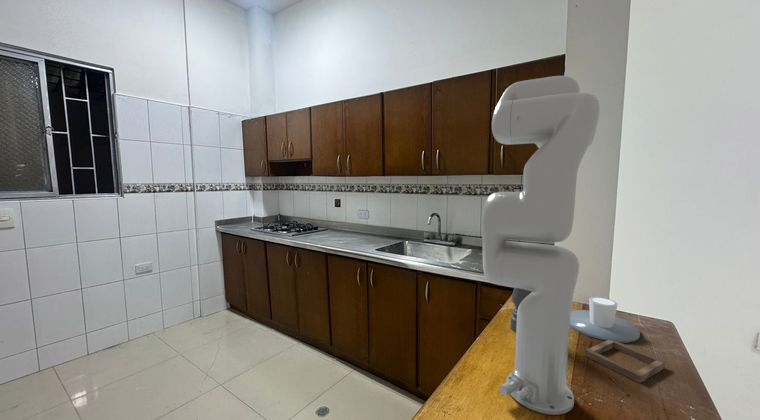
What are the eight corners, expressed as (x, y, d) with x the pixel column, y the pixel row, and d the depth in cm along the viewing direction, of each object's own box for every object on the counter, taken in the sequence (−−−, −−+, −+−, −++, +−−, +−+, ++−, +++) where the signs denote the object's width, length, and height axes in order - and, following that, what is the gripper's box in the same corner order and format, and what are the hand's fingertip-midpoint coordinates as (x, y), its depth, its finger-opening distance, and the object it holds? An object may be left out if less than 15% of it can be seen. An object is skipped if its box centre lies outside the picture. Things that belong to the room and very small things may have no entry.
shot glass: (620, 329, 88) (623, 306, 87) (594, 328, 89) (596, 304, 89) (607, 318, 95) (609, 297, 94) (583, 317, 96) (584, 295, 95)
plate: (618, 349, 80) (618, 345, 80) (552, 320, 96) (553, 317, 96) (652, 332, 88) (652, 329, 88) (586, 308, 104) (587, 306, 104)
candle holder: (534, 327, 92) (538, 245, 89) (532, 336, 87) (536, 249, 84) (512, 322, 96) (515, 243, 93) (508, 330, 90) (512, 247, 88)
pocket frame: (639, 383, 67) (640, 376, 67) (585, 355, 77) (585, 349, 77) (664, 368, 72) (665, 361, 72) (610, 344, 83) (610, 338, 82)
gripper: (549, 167, 87) (546, 227, 89) (585, 167, 95) (582, 222, 97) (526, 168, 94) (524, 223, 96) (562, 168, 102) (559, 219, 104)
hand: (553, 223), depth 96 cm, fingers open, 9 cm apart
